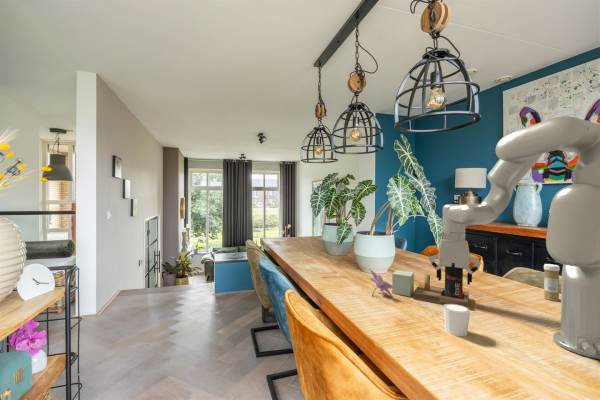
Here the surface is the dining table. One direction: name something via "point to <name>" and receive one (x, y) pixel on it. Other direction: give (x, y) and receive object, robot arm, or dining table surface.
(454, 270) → the deodorant
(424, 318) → the dining table surface
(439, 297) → the board
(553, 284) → the sprinkles bottle
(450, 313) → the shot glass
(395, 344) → the dining table surface
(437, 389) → the dining table surface
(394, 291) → the green block
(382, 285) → the lily
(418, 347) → the dining table surface
